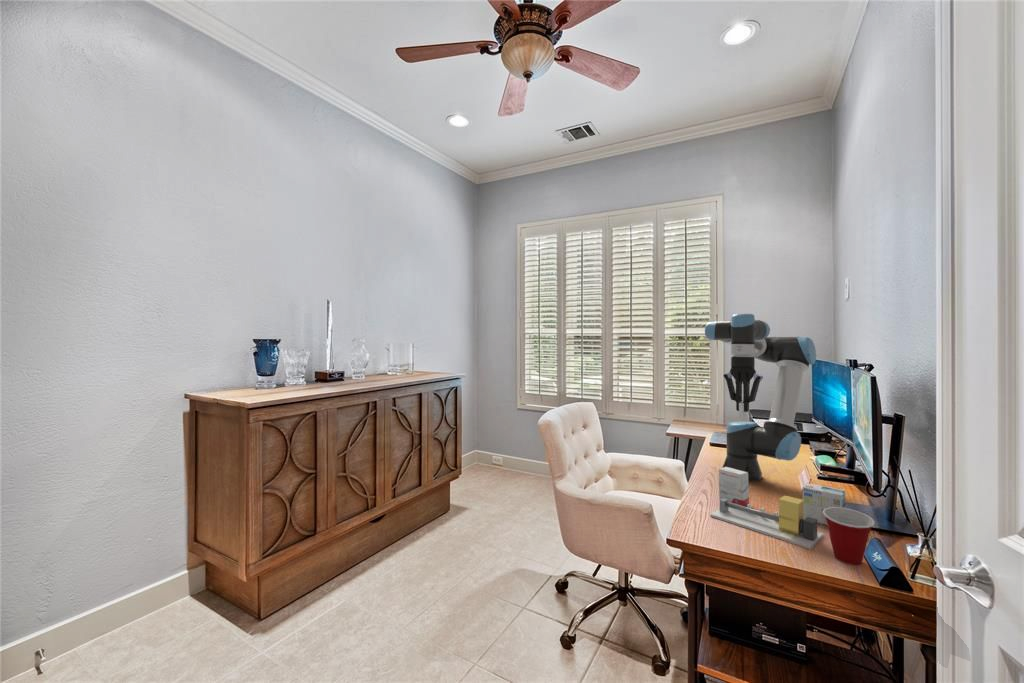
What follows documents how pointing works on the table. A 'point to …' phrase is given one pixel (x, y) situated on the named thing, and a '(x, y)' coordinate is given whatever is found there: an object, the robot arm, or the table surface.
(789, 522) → the sleeve
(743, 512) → the rod slider on plate
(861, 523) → the plastic cup
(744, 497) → the ink box
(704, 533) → the table surface
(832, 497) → the light bulb box
